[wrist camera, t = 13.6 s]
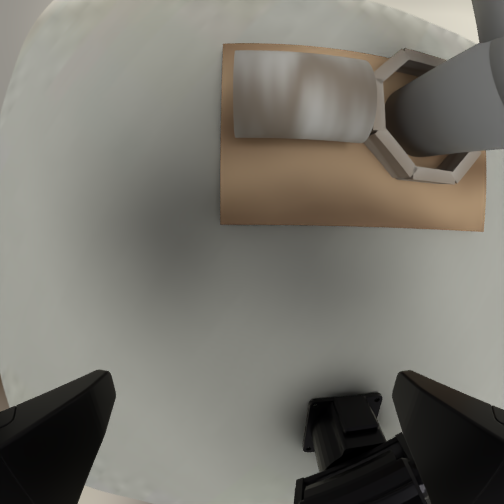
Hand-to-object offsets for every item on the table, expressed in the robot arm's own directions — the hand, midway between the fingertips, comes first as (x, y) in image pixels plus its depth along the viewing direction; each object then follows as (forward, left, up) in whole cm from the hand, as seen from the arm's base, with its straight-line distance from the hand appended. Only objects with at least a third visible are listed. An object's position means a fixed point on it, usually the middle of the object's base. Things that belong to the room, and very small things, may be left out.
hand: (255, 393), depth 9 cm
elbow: (+11, -11, -12) cm, 19 cm away
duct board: (+9, -8, -13) cm, 18 cm away
